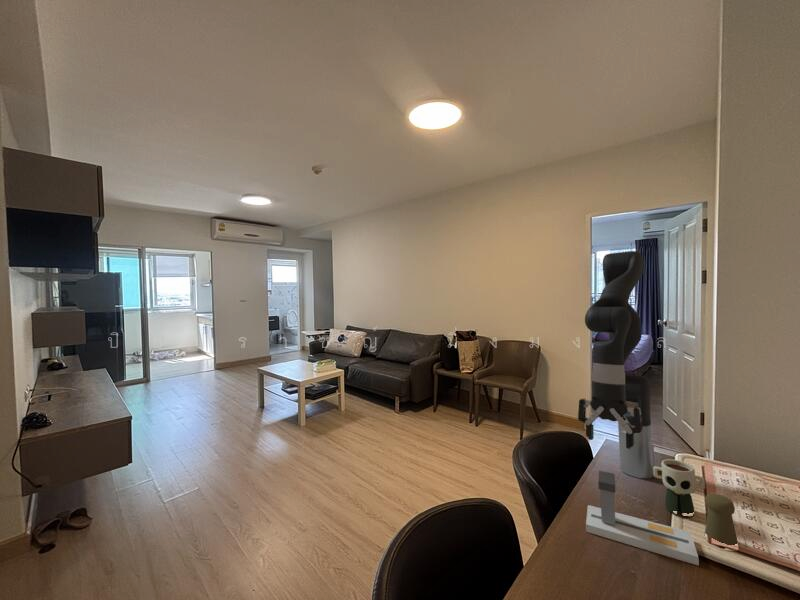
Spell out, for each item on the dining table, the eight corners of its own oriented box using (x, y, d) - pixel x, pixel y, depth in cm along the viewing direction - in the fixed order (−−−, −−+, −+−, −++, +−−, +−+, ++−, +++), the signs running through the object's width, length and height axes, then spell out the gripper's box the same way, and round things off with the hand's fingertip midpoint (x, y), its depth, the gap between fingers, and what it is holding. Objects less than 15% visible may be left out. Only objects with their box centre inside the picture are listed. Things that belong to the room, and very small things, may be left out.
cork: (746, 552, 76) (744, 505, 76) (716, 550, 77) (713, 503, 77) (726, 534, 82) (724, 490, 82) (698, 531, 83) (696, 488, 83)
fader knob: (600, 523, 85) (598, 481, 85) (600, 510, 90) (599, 470, 90) (617, 528, 83) (614, 485, 83) (616, 514, 88) (614, 473, 88)
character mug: (654, 510, 92) (652, 464, 92) (655, 498, 97) (653, 454, 97) (707, 526, 85) (705, 477, 85) (705, 512, 90) (703, 465, 90)
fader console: (586, 531, 85) (585, 523, 85) (588, 511, 93) (587, 504, 93) (698, 565, 73) (698, 556, 73) (690, 539, 81) (690, 531, 81)
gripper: (643, 383, 85) (644, 448, 84) (583, 376, 95) (583, 434, 94) (638, 386, 80) (639, 454, 78) (574, 378, 90) (575, 439, 88)
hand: (609, 443), depth 86 cm, fingers open, 8 cm apart
